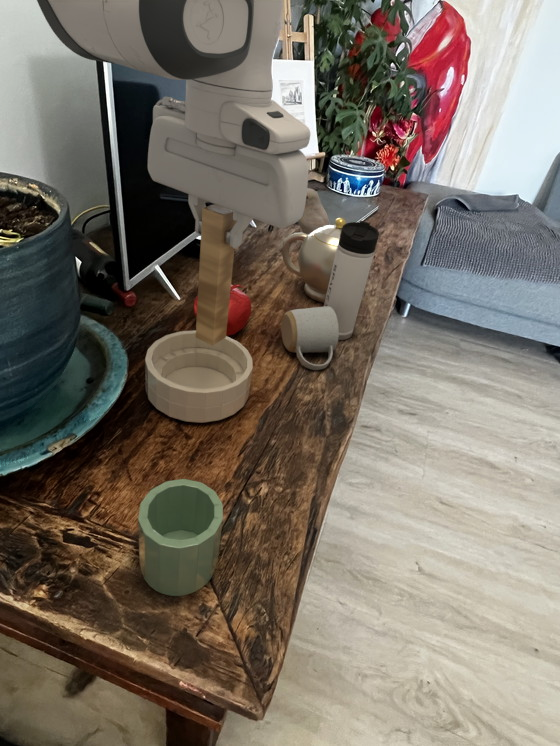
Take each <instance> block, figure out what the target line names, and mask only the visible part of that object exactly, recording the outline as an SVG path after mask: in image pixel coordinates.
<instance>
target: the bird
mask: <svg viewBox="0 0 560 746" xmlns="http://www.w3.org/2000/svg"><path fill="white" fill-rule="evenodd" d="M330 222H331V221H330V218H329V216H328V214H327V212H326V210H325V208H324V206H323V204H322V201H321V198H320V196H319V194H318V192H317V191H316V190H315V189H313V188H311V187H309V188H308V187H307V196H306V203H305V209H304V213H303V216H302V217H301V219H300V220H298V221H297V224H298V225H299V228H300V229H301V231H302V233H305V234H308V235H309V234H310V233H312V232H313V231H314V230H316V229H318V228H320V227H323V226H327V225H331V223H330Z"/></svg>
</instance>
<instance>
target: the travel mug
mask: <svg viewBox="0 0 560 746" xmlns="http://www.w3.org/2000/svg"><path fill="white" fill-rule="evenodd" d="M379 237H380V232H379V231H378V229H377V228H376V227H374V226H372V225H371V223H370V222H368V221H364V220H359V222H358V221H351V222H346V224H345V225H343V226H342V230H341V234H340V239H339V242H338V247H337V250H336V255H335V259H334V264H333V268H332V272H331V277H330V281H329V285H328V290H327V294H326V299H325V303H323V307H325V306H329V307H331V308H332V309H333V310H334V312H335V314H336V316H337V320H338V326H339V337H338V341H345V340H348V339H350V338H351V337H352V335H353V332H354V328H355V325H356V322H357V318H358V314H359V310H360V307H361V303H362V299H363V296H364V293H365V289H366V285H367V281H368V278H369V274H370V271H371V267H372V264H373V260H374V256H375V253H376V246H377V244H378V240H379Z"/></svg>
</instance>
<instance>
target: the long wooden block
mask: <svg viewBox="0 0 560 746" xmlns="http://www.w3.org/2000/svg"><path fill="white" fill-rule="evenodd" d="M236 222H237V221H235V220H233V211H232V210H230V209H227V208H224V207H222V206H219V205H216V204H214V203H213V204H210V205H208V206H207V205H206V207H204V208H203V210H202V229H201V234H200V248H199V249H200V250H199V251H200V252H199V265H198V266H199V268H198V288H197V295H198V303H197V319H196V320H195V321H196V323H195V330H196V338H198V339H200V340H202V341H204V342H206V343H208V344H210V345H212V346H213V345H215V344H216V343H218V342H219V341H221V340H223V339H224V338H226V331H227V321H228V311H229V300H230V290H231V284H232V280H233V279H232V278H233V269H234V258H235V249H236V248H233V247H231V246H228V245H226V244H224V239H225V238H224V232H225V231H226V230H228V229H231V228H233V227H234V225H235V224H236Z"/></svg>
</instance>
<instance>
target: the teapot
mask: <svg viewBox="0 0 560 746" xmlns="http://www.w3.org/2000/svg"><path fill="white" fill-rule="evenodd" d="M345 224H347V222H346V220H345V218H343V217H338V218H336V219H335V221H334V224H330V225H327V226H323V227H320V228H318V229H316V230H314V231H313V232H312V233H310V234H309V235H308V234H305V233H303V232H294V233H292V234H289V235H288V236H287V237H286V239H284V241H283V243H282V248H281V257H282V261H283V263H284V265H285V266H286V268H287V270H289V271H290V272H291V273H293V275H296V276H298V277H300V278H302V280H303V281H304V282H305V284H304V287H303V289H304V290H303V291H304V292H305V295H306V296H307V297H308V298H310V299H311V300H313V301H316V302H319V303H321V304H322V303H323V304H324V303H325V299H326V294H327V290H328V285H329V281H330V277H331V272H332V268H333V264H334V259H335V255H336V250H337V247H338V242H339V239H340V234H341V230H342V226H343V225H345ZM297 241H302V243H301V245H300V248H299V251H298V256H297V266H296V265H294V263H293V262H292V260H291V258H290V257H291V256H290V249H291V248H290V247H291V245H293V244H294V243H295V242H297Z"/></svg>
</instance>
